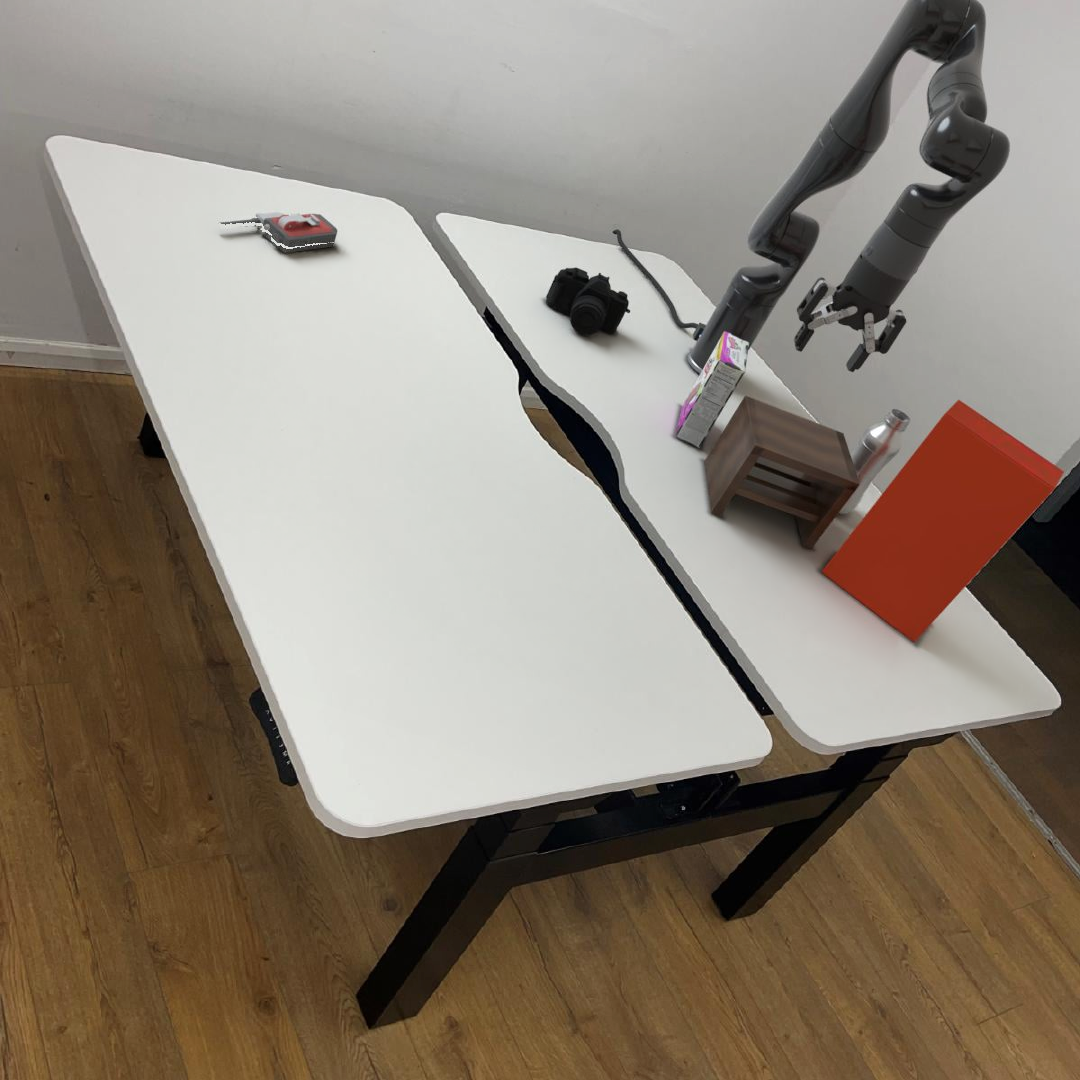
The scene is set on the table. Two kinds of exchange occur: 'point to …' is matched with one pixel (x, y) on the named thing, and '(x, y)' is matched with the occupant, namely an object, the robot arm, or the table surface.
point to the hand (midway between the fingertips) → (823, 358)
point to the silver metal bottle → (876, 452)
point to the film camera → (587, 301)
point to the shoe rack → (782, 466)
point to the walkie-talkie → (295, 230)
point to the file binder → (941, 520)
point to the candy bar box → (712, 389)
